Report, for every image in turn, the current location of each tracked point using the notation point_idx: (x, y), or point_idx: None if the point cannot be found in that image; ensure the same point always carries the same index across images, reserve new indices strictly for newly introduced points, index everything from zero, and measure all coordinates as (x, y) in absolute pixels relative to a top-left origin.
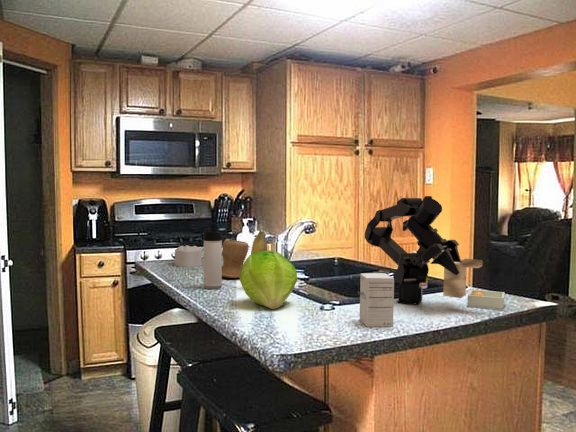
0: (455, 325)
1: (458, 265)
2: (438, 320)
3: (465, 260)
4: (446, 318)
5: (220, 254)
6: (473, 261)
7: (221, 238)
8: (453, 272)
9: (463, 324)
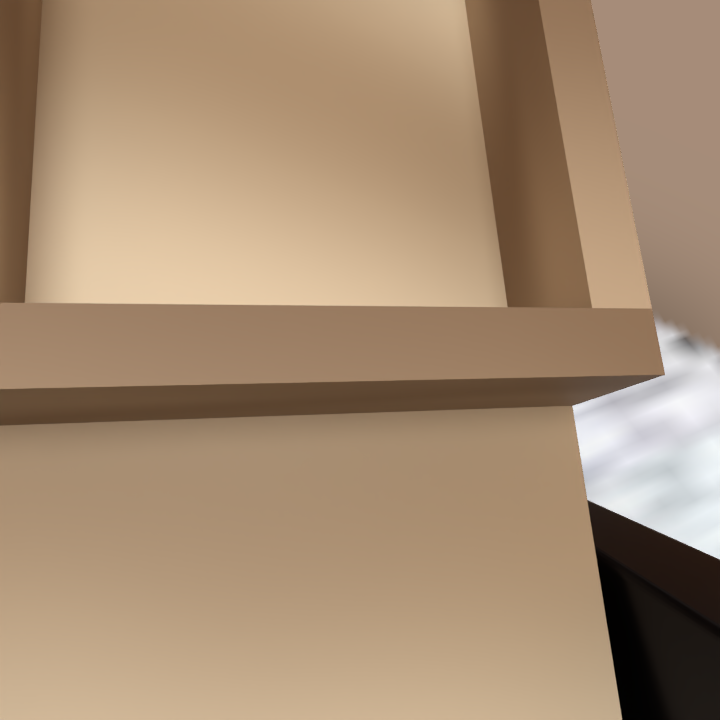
0: (717, 367)
1: (567, 460)
2: (685, 520)
3: (160, 319)
4: (589, 495)
5: None
6: (7, 64)
7: None
8: None
9: (657, 331)
